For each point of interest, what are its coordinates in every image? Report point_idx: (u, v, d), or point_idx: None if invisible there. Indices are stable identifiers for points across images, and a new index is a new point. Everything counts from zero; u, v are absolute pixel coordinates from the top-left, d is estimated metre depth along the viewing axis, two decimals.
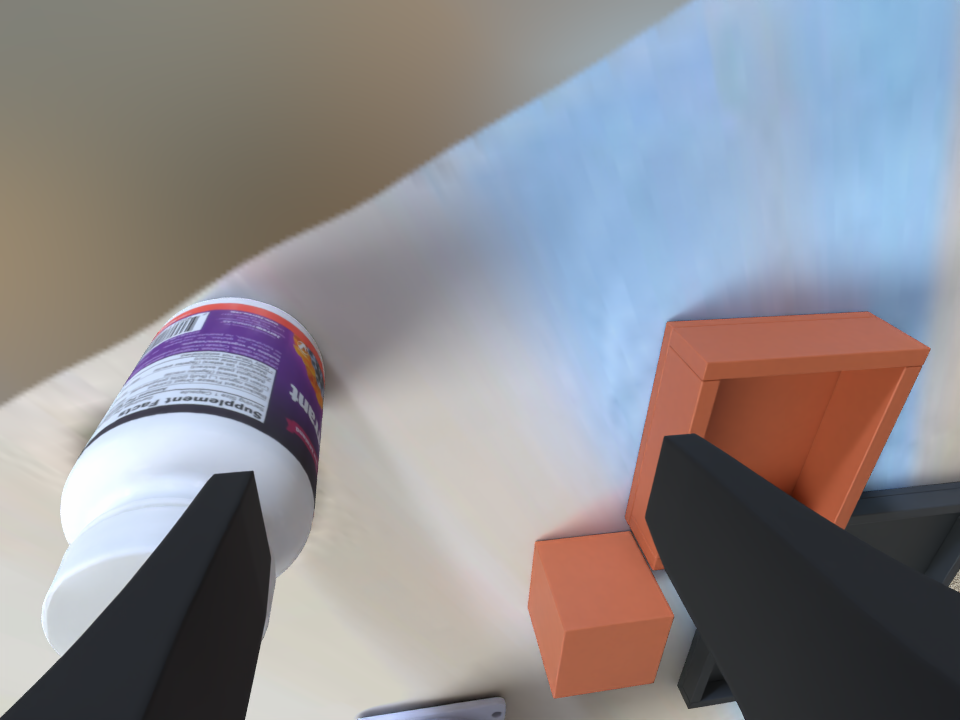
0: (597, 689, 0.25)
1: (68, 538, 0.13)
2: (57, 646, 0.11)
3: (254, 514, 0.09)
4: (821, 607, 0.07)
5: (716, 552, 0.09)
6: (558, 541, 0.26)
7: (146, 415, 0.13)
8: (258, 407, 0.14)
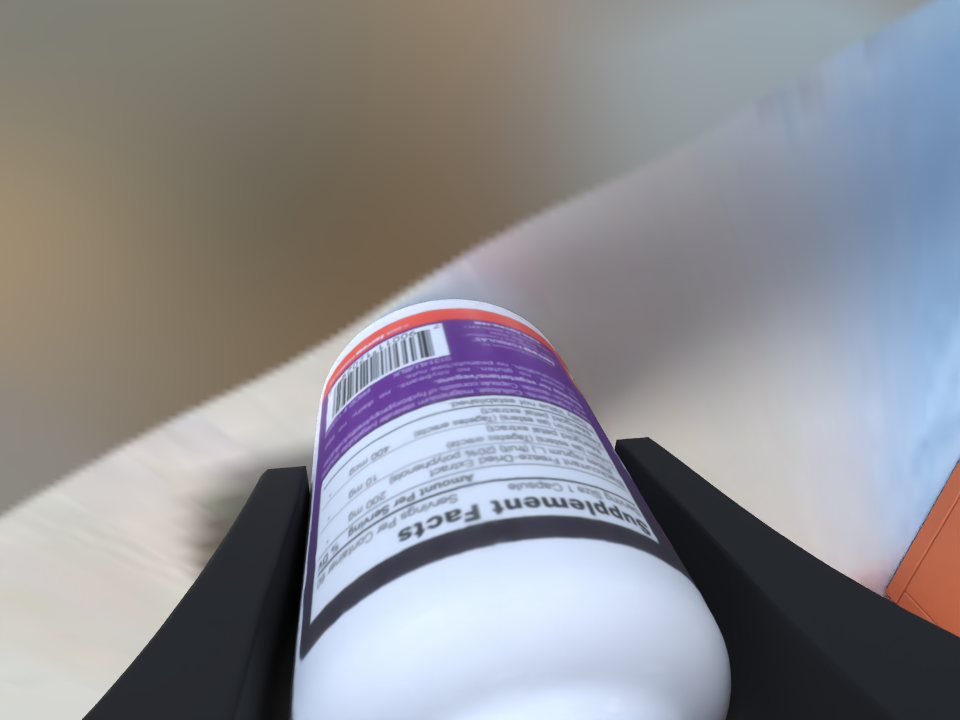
0: None
1: None
2: None
3: (307, 509, 0.09)
4: (754, 617, 0.07)
5: None
6: None
7: (476, 544, 0.06)
8: (632, 509, 0.07)
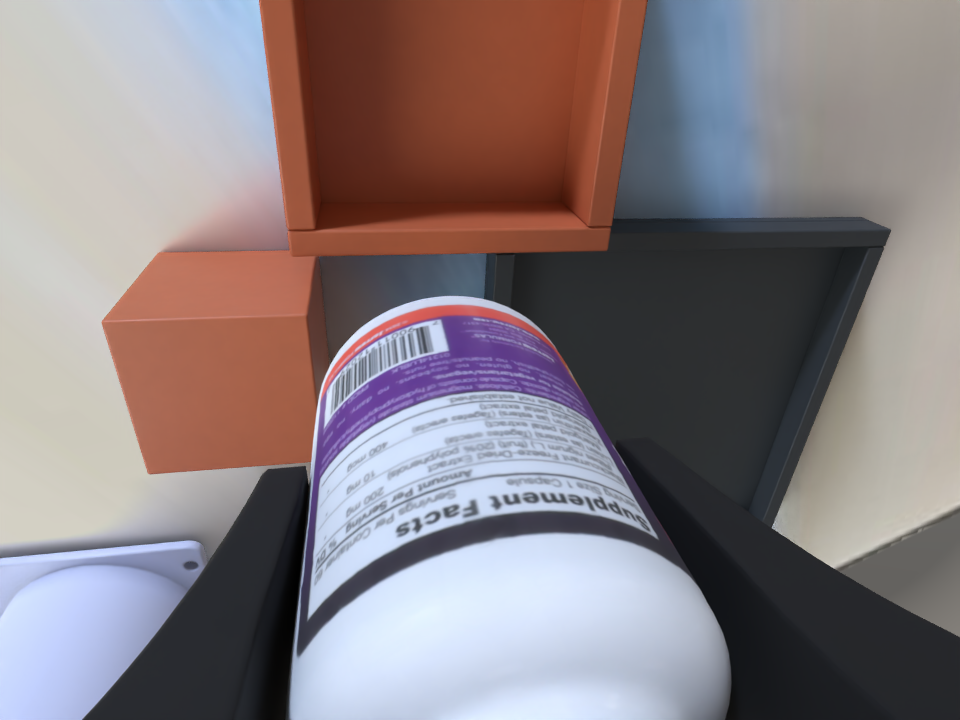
0: (222, 462, 0.16)
1: None
2: None
3: None
4: (754, 616, 0.07)
5: None
6: (194, 253, 0.17)
7: (474, 540, 0.06)
8: (631, 504, 0.07)
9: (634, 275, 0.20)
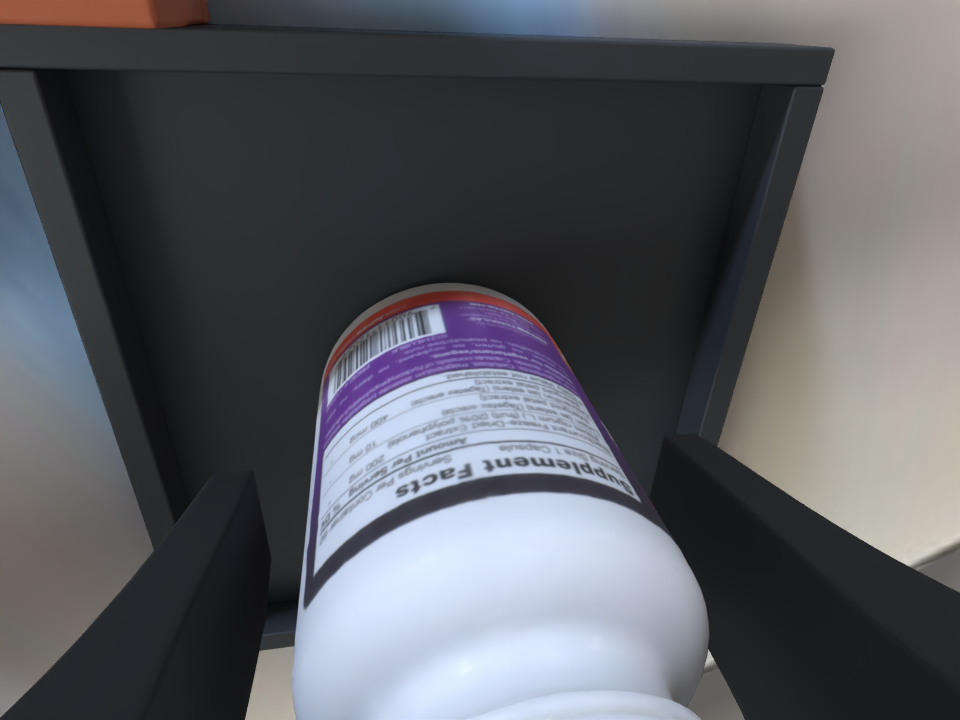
0: None
1: None
2: None
3: (254, 514, 0.09)
4: (821, 607, 0.07)
5: (716, 552, 0.09)
6: None
7: (468, 498, 0.07)
8: (616, 471, 0.08)
9: (356, 145, 0.11)
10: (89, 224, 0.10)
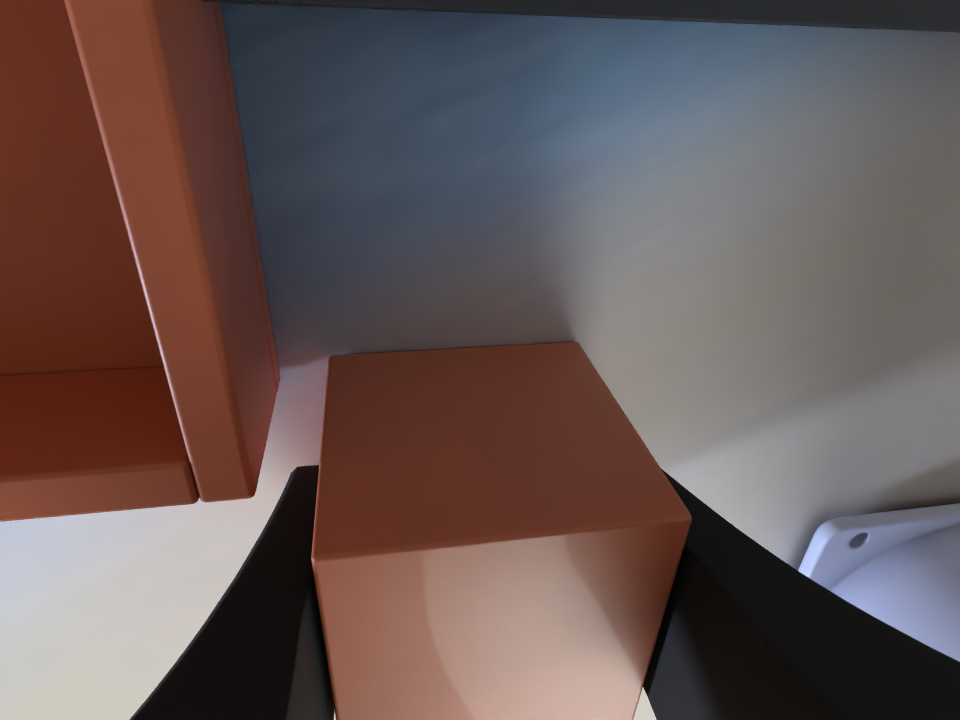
0: (638, 652, 0.08)
1: None
2: None
3: None
4: (720, 621, 0.07)
5: None
6: None
7: None
8: None
9: None
10: None
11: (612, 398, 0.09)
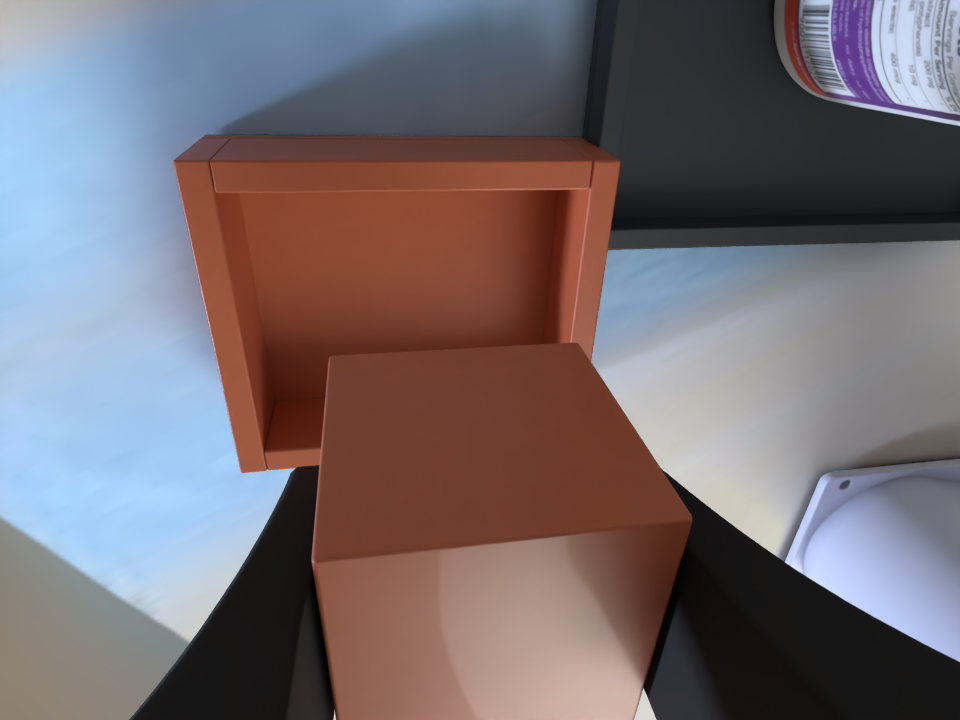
0: (639, 653, 0.08)
1: None
2: None
3: None
4: (720, 621, 0.07)
5: None
6: None
7: None
8: None
9: (664, 50, 0.15)
10: (682, 225, 0.17)
11: (612, 399, 0.09)
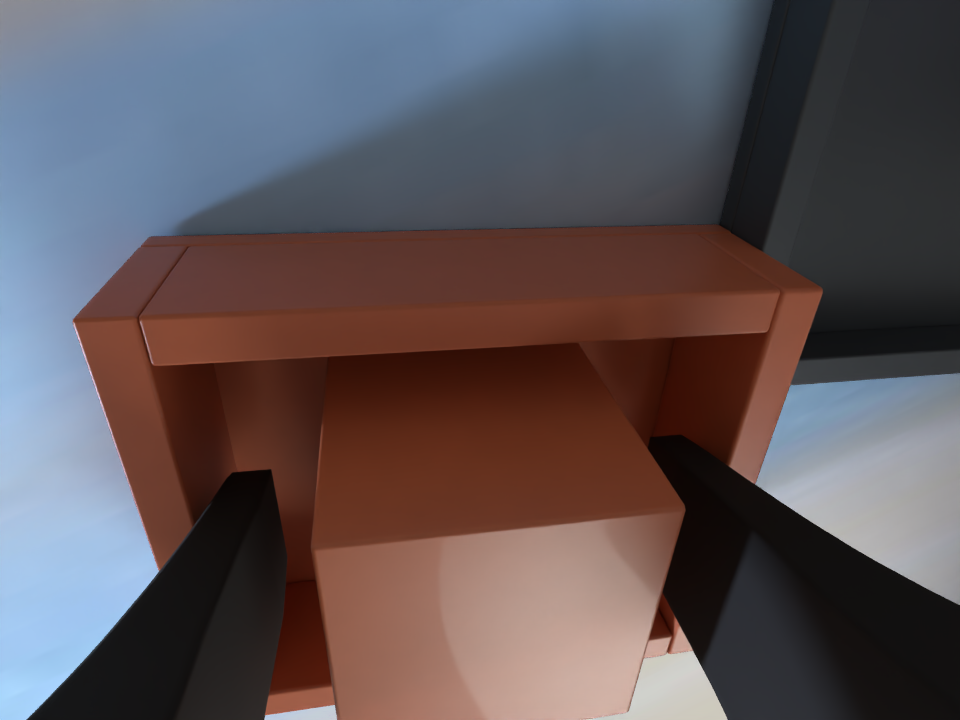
0: (634, 642, 0.09)
1: None
2: None
3: (272, 513, 0.09)
4: (801, 610, 0.07)
5: (700, 554, 0.09)
6: None
7: None
8: None
9: (862, 99, 0.10)
10: (860, 348, 0.12)
11: (608, 392, 0.09)
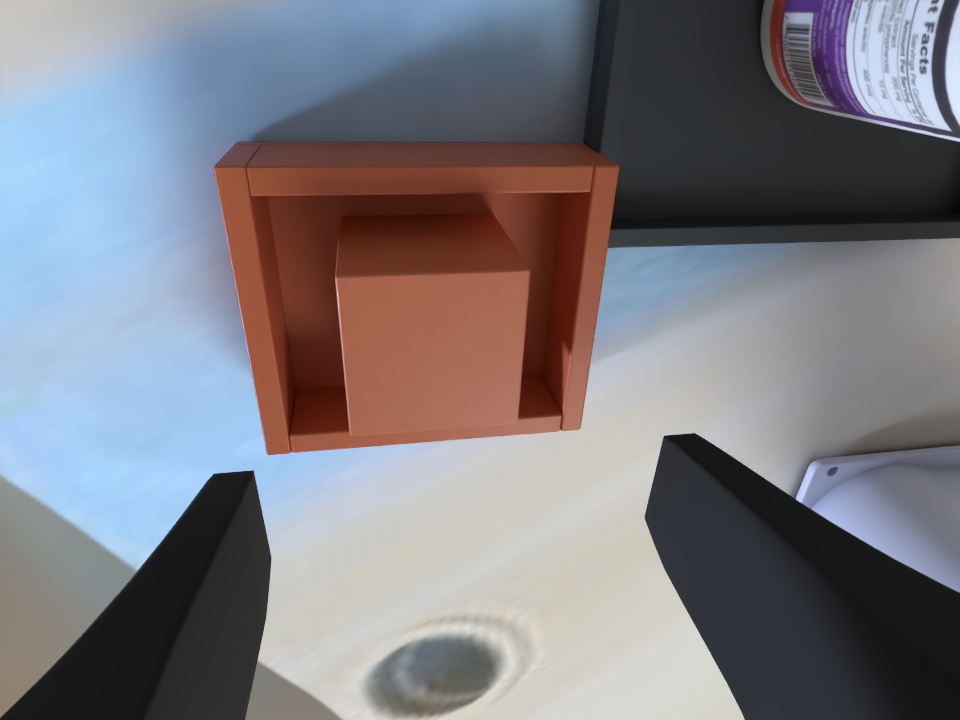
0: (513, 364, 0.15)
1: None
2: None
3: (254, 514, 0.09)
4: (821, 607, 0.07)
5: (716, 552, 0.09)
6: None
7: (948, 29, 0.11)
8: None
9: (659, 63, 0.17)
10: (677, 224, 0.18)
11: (505, 234, 0.16)
